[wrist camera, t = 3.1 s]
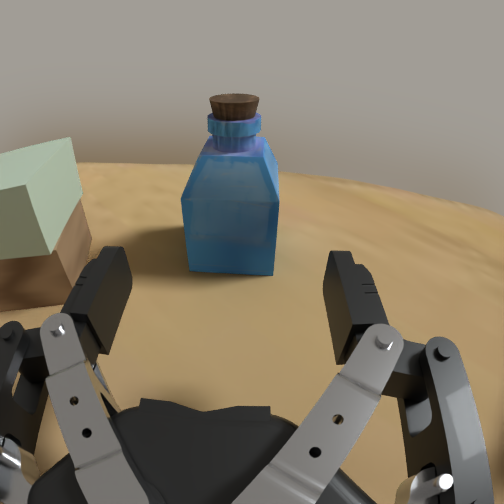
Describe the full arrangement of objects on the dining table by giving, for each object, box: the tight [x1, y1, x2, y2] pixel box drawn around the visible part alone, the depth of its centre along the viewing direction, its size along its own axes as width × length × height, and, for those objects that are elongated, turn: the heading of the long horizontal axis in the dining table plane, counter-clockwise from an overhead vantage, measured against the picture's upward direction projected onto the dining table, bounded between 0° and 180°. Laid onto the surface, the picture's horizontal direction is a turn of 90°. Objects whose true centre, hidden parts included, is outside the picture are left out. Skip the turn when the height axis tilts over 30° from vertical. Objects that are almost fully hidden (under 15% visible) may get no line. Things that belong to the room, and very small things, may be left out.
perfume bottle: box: [181, 94, 279, 276], centre depth 22 cm, size 6×6×12 cm
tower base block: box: [0, 199, 92, 312], centre depth 21 cm, size 8×8×5 cm
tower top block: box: [0, 137, 83, 260], centre depth 18 cm, size 8×8×5 cm
